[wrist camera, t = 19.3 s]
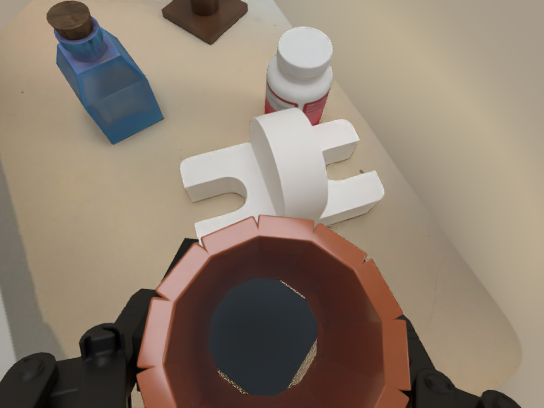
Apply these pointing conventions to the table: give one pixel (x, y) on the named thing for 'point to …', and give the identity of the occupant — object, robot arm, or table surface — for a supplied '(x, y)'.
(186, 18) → the stand
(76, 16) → the perfume bottle
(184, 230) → the table surface
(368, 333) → the orange hollow cylinder
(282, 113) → the white slotted bracket
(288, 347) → the mat
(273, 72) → the pill bottle
